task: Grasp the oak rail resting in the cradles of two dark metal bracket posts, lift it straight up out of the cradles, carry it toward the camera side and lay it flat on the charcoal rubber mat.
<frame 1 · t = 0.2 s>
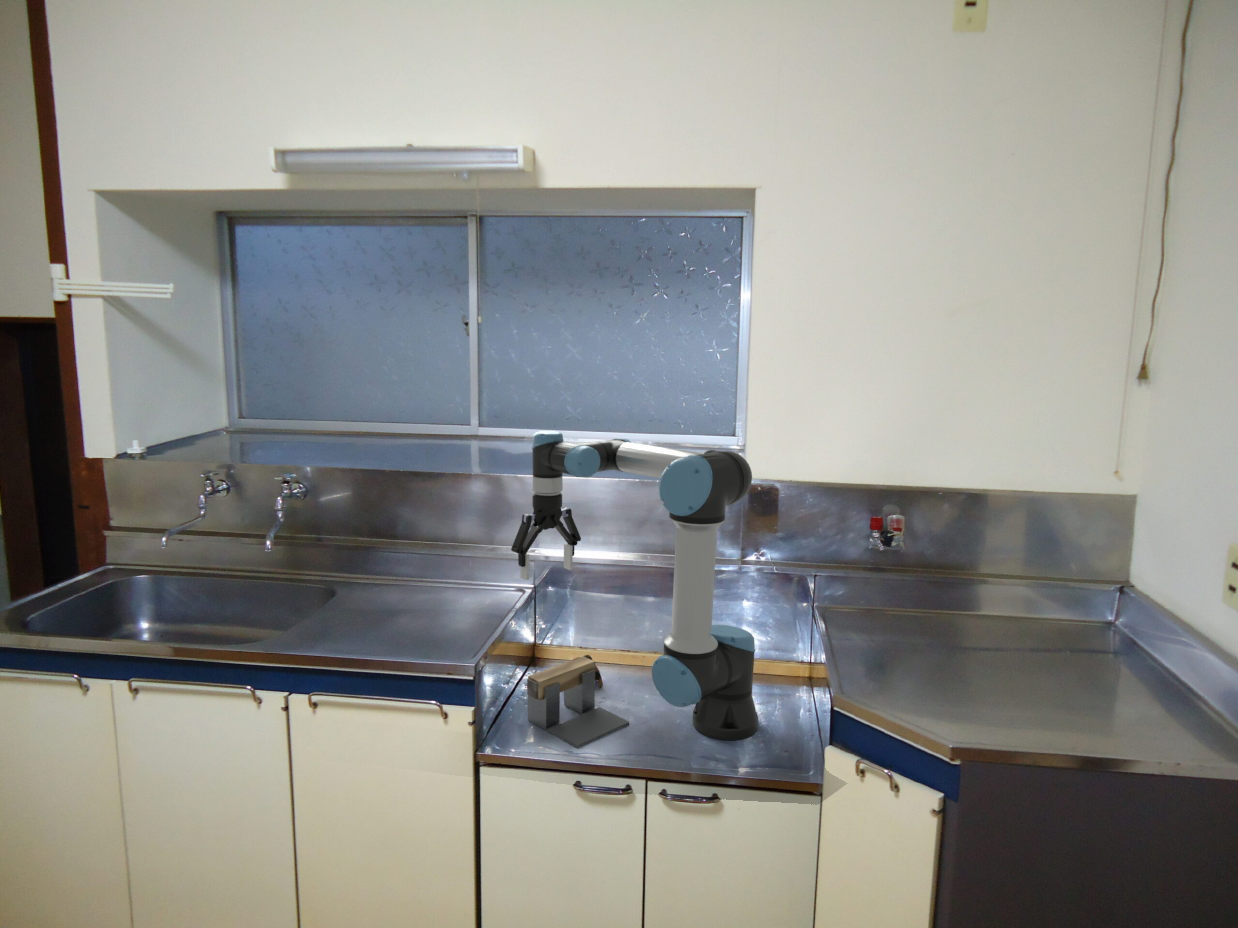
hand: (546, 573, 208), 28 cm above the countertop, fingers open, 13 cm apart
standard b: (543, 721, 188), on the countertop
oak rail: (562, 686, 190), point 7 cm above the countertop, touching standard a, standard b
pottery mug: (583, 684, 208), on the countertop
mat: (589, 727, 185), on the countertop
standard a: (579, 707, 195), on the countertop
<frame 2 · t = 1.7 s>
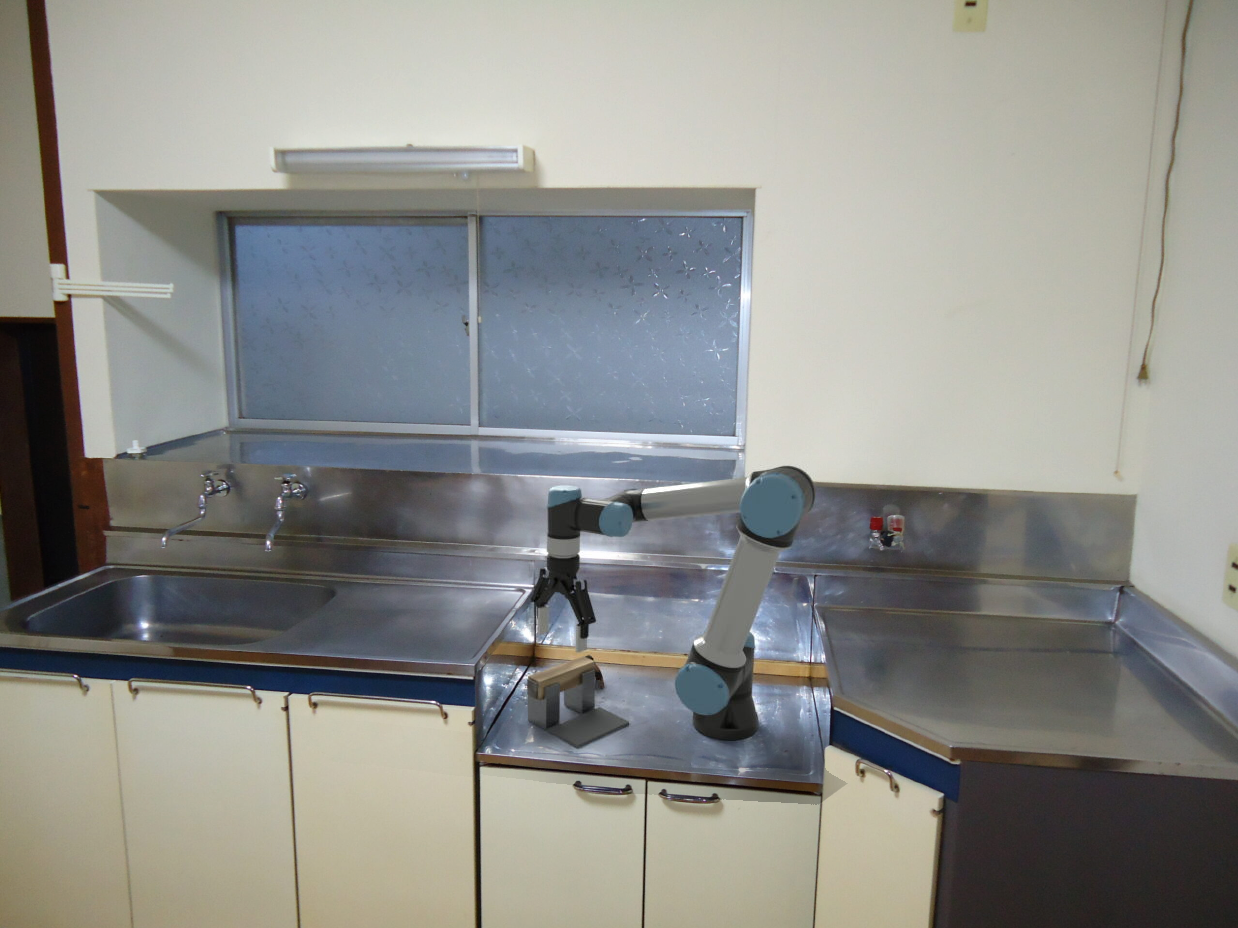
hand: (561, 641, 188), 18 cm above the countertop, fingers open, 13 cm apart
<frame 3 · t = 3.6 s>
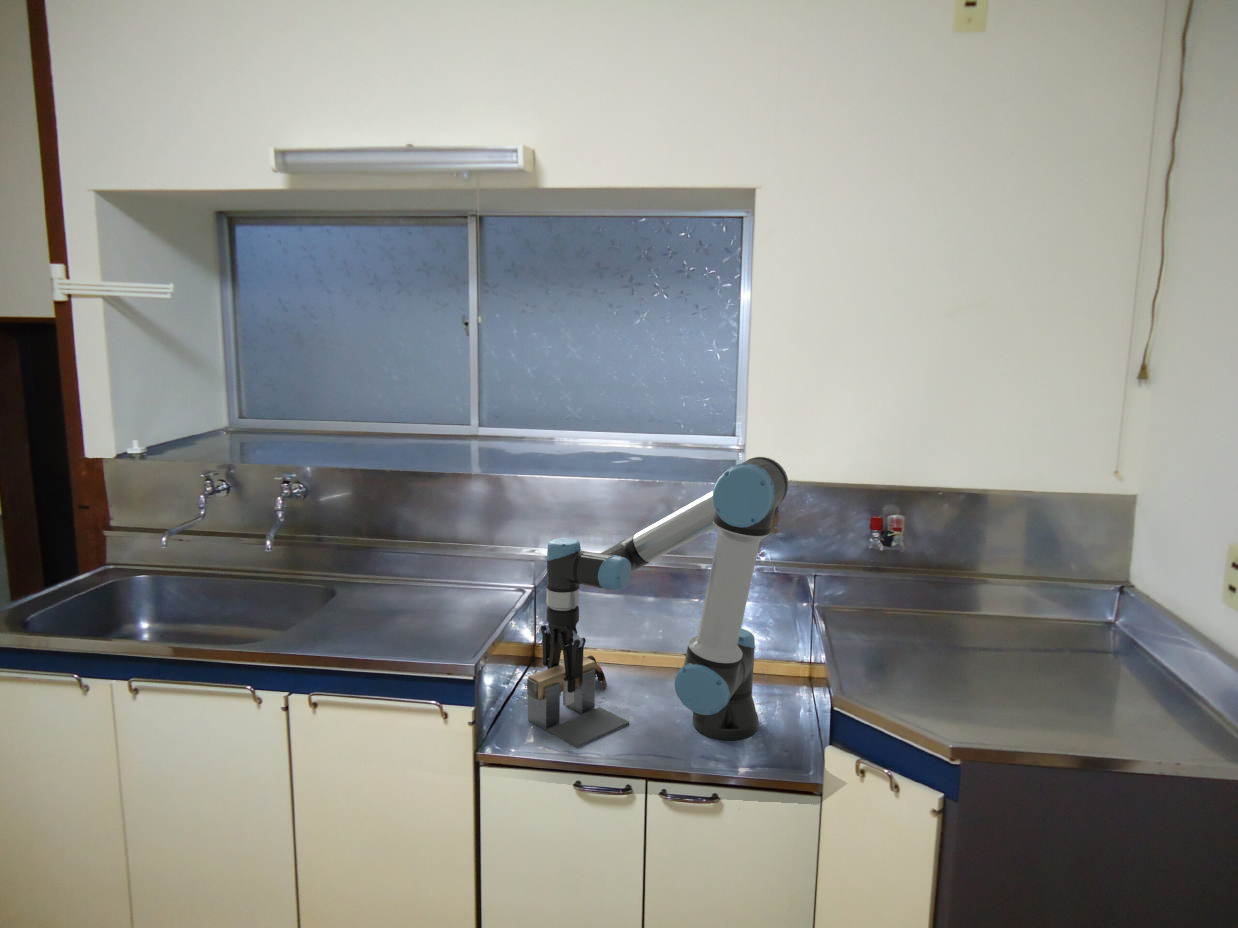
hand: (561, 699, 191), 4 cm above the countertop, fingers closed on oak rail, 4 cm apart
oak rail: (562, 686, 190), point 7 cm above the countertop, touching gripper, standard a, standard b
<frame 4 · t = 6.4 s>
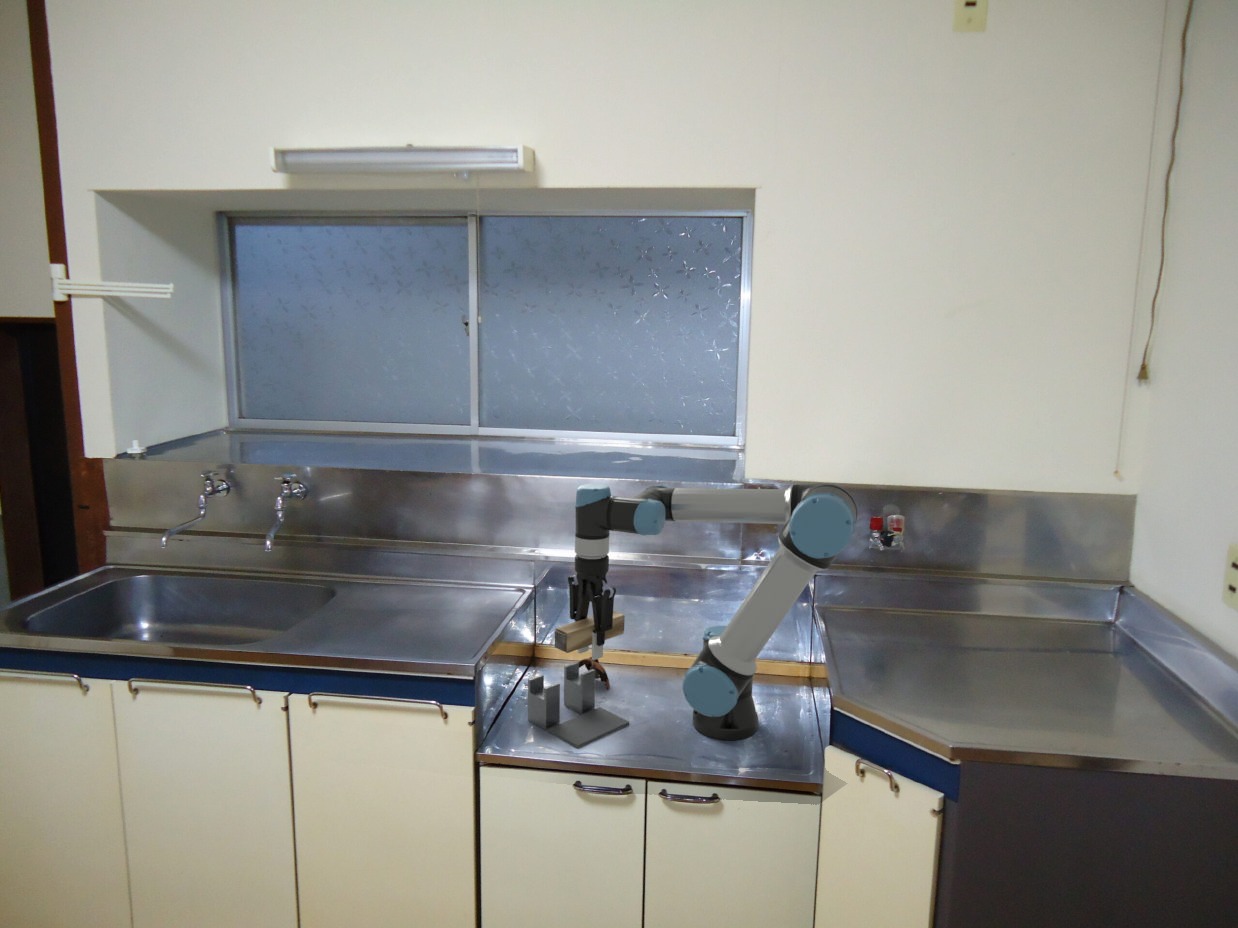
hand: (590, 654, 182), 18 cm above the countertop, fingers closed on oak rail, 4 cm apart
oak rail: (590, 640, 182), point 21 cm above the countertop, touching gripper
when the fingers open (1 cm above the countertop, at t = 9.1 s): oak rail drops 3 cm, point 2 cm above the countertop.
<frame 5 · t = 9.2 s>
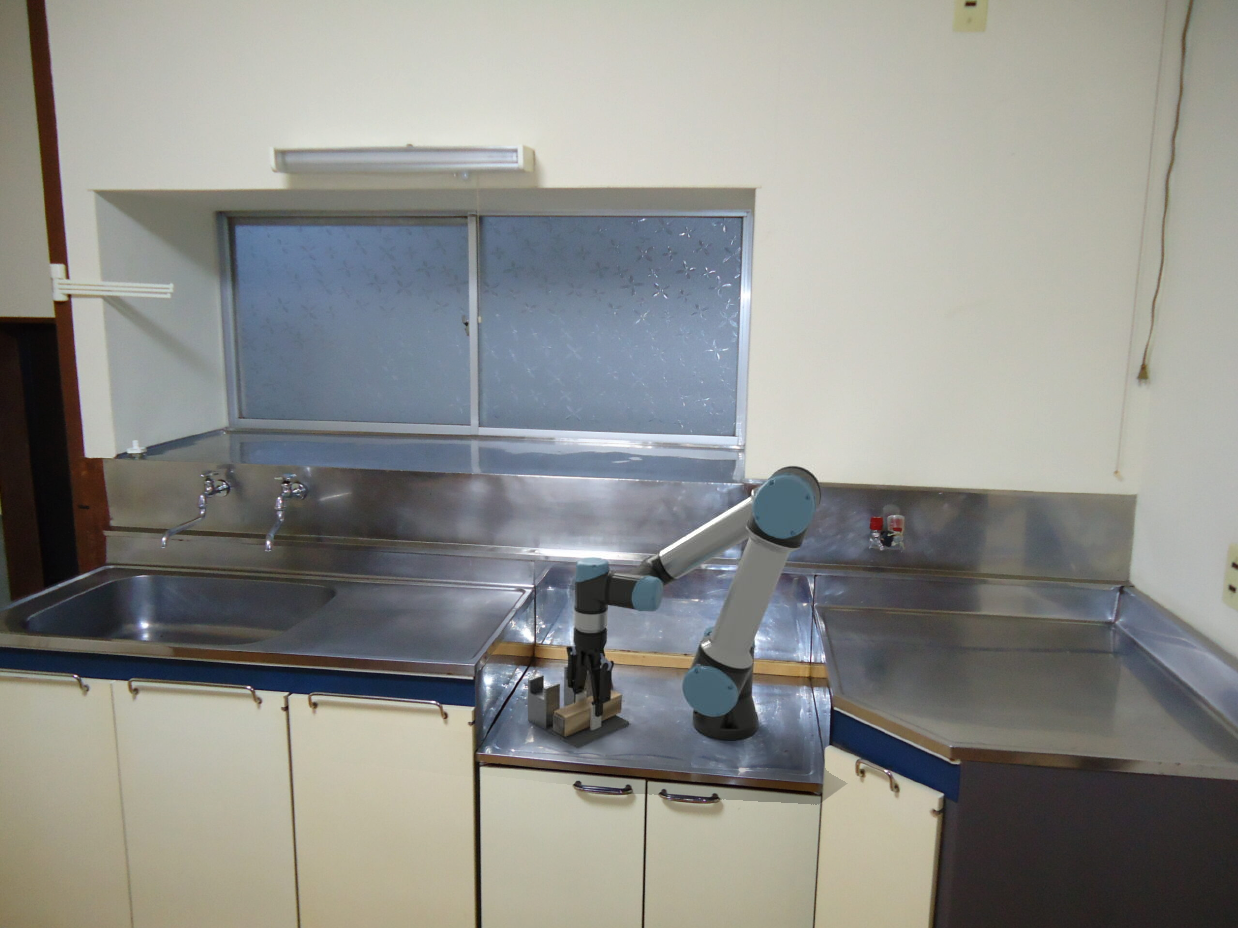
hand: (587, 723, 185), 1 cm above the countertop, fingers open, 4 cm apart
oak rail: (588, 720, 185), point 2 cm above the countertop
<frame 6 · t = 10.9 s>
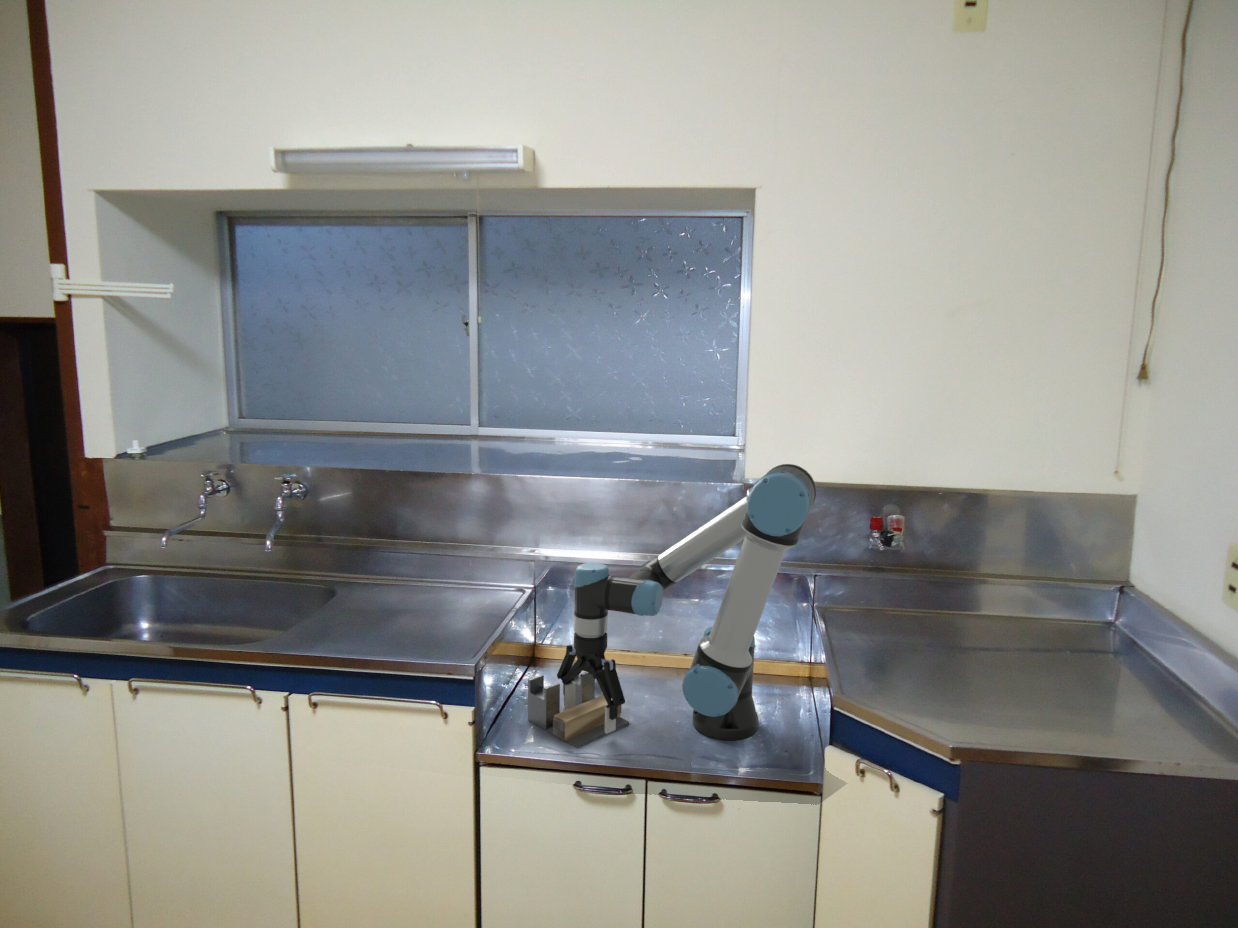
hand: (589, 720, 185), 2 cm above the countertop, fingers open, 13 cm apart
oak rail: (588, 724, 185), point 1 cm above the countertop, touching mat
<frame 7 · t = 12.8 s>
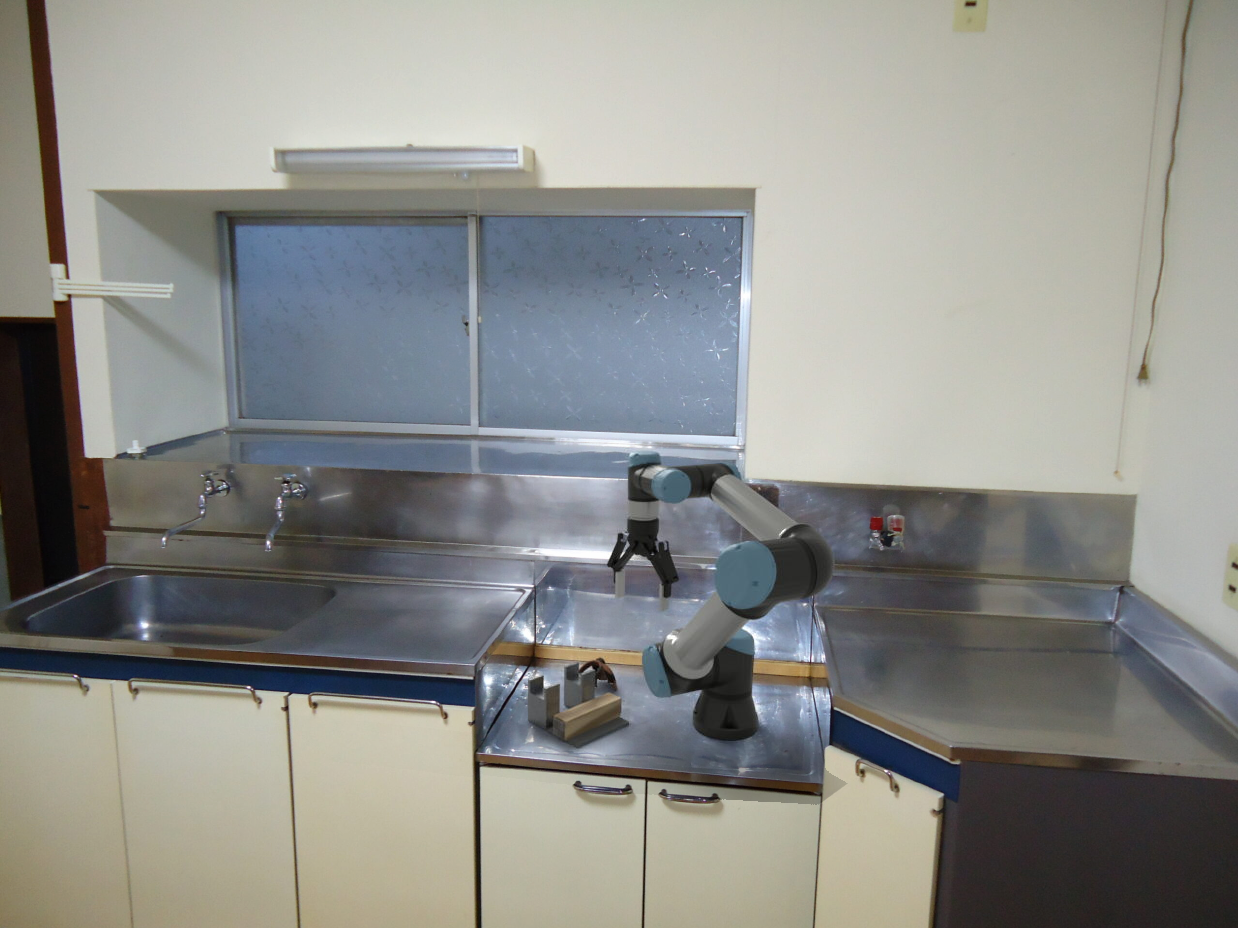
hand: (641, 603, 194), 25 cm above the countertop, fingers open, 13 cm apart
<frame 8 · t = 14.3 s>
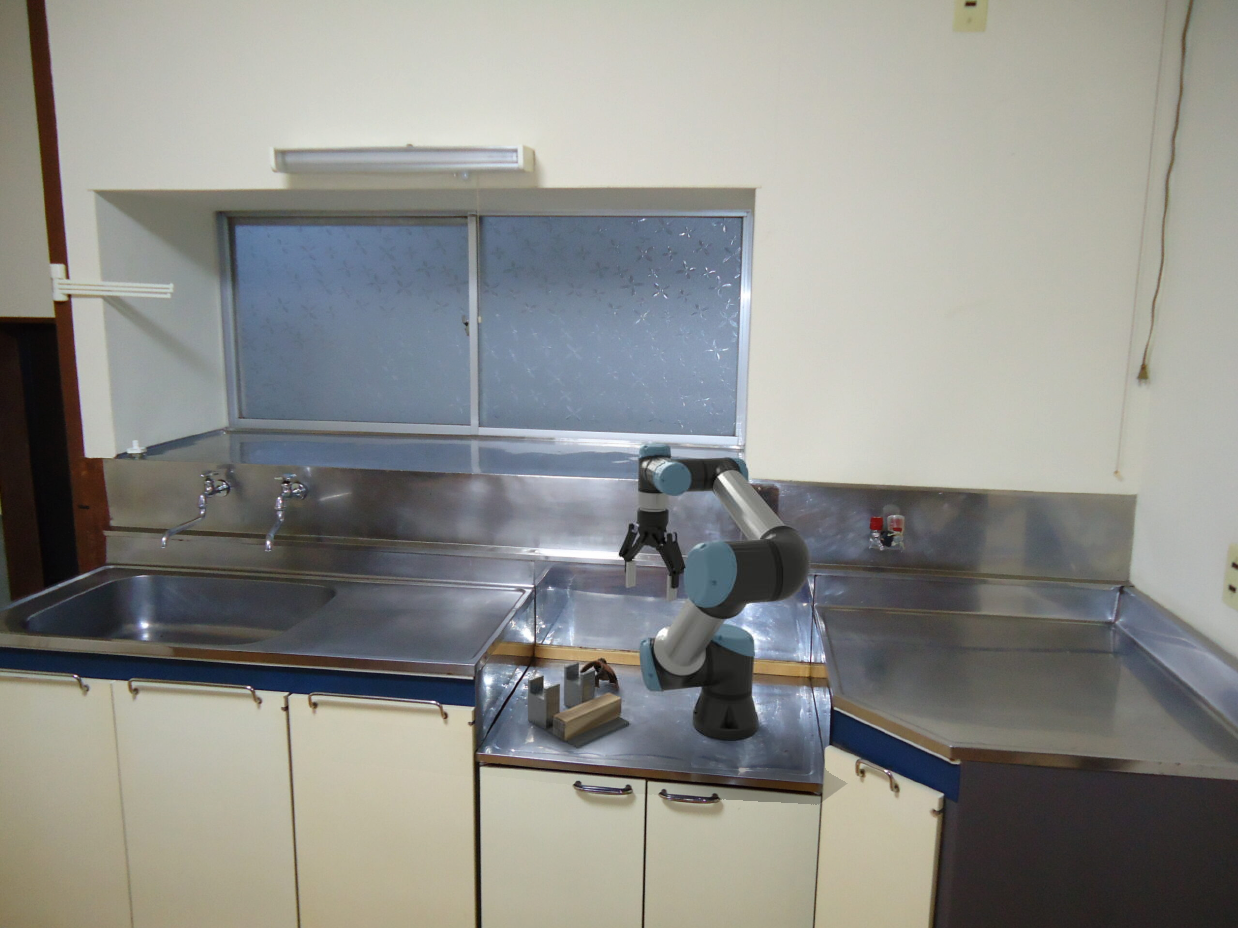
hand: (650, 593, 197), 27 cm above the countertop, fingers open, 13 cm apart
at the end: oak rail inside the target area on the mat (0.3 cm from its centre), point 0.6 cm above the mat's base; oak rail touching mat; the gripper is holding nothing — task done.
